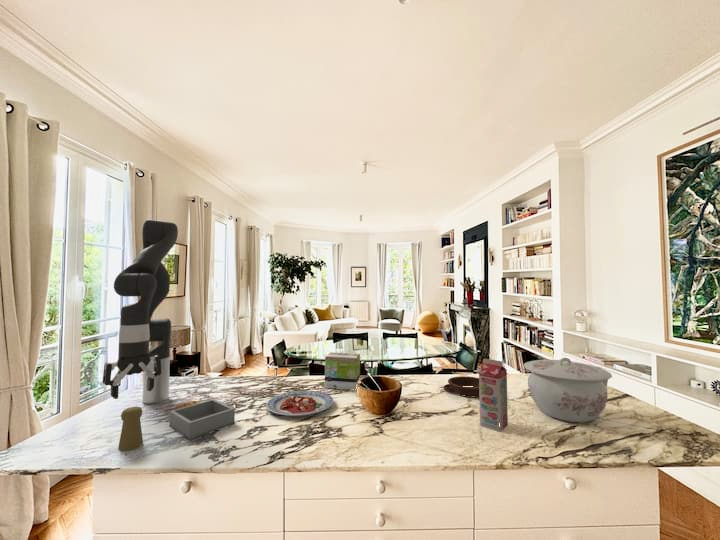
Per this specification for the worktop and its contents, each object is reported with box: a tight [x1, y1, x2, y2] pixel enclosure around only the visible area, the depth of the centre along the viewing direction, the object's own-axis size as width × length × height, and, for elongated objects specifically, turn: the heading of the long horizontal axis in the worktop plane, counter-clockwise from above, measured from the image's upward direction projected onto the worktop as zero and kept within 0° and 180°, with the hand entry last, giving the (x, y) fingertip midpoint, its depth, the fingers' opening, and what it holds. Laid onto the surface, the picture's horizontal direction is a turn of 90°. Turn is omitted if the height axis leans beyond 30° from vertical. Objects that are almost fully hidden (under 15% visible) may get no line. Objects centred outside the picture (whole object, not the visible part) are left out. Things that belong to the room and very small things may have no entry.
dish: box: [443, 376, 479, 397], centre depth 143 cm, size 18×22×5 cm
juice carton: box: [478, 357, 509, 433], centre depth 110 cm, size 7×7×22 cm
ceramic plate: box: [265, 390, 334, 417], centre depth 127 cm, size 26×26×3 cm
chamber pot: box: [523, 357, 613, 423], centre depth 119 cm, size 28×28×21 cm
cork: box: [117, 406, 144, 452], centre depth 96 cm, size 6×6×11 cm
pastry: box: [168, 400, 198, 416], centre depth 120 cm, size 9×7×4 cm
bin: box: [168, 398, 236, 440], centre depth 110 cm, size 15×15×5 cm
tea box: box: [324, 352, 361, 391], centre depth 152 cm, size 15×10×15 cm, turn 80°
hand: (132, 394), depth 97 cm, fingers open, 8 cm apart
